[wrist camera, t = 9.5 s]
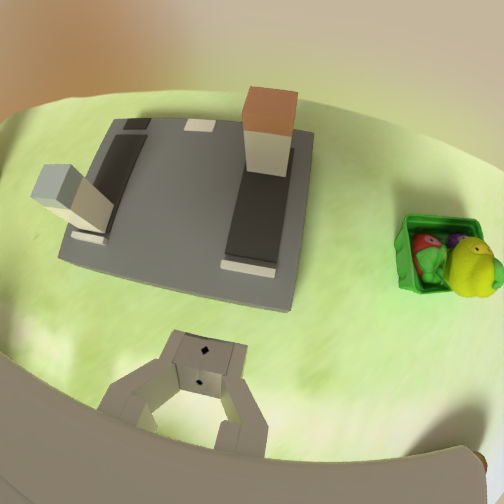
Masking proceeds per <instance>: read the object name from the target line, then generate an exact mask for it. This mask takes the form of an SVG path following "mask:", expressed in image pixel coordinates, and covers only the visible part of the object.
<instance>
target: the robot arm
mask: <svg viewBox="0 0 504 504" xmlns="http://www.w3.org/2000/svg"><path fill="white" fill-rule="evenodd" d="M247 348H248V345H244V344H239V343H235V342H229V341H224V340H218V339H213V338H207V337H202V336H198V335H194V334H191V333H187V332H183V331H179V330H175V329H174V330H173V332H172V333H171V335H170V337H169V339H168V341H167V343H166V345H165V347H164V349H163V351H162V353H161V355H160V357H159V359H154V360H152V361H150V362H149V363H147V364H145V365H143V366H142V367H140V368H138V369H137V370H135V371H133V372H131V373H130V374H128V375H126V376H124V377H123V378H121V379H119V380H117V381H116V382H114V383H112V384H110V386H109V388H108V390H107V392H106V393H105V395H104V397H103V399H102V401H101V403H100V405H99V407H98V408H97V410H96V409H94V408H92V407H90V406H88V405H86V404H84V403H82V402H80V401H78V400H76V399H74V398H72V397H70V396H68V395H67V394H65V393H63V392H61V391H59V390H58V389H56V388H54V387H53V386H51V385H49V384H48V383H46V382H44V381H43V380H41V379H40V378H38V377H36V376H35V375H33V374H32V373H30V372H29V371H27V370H26V369H24V368H23V367H21V366H20V365H19V364H17V363H16V362H14V361H13V360H12V359H10V358H9V357H8V356H6V355H5V354H4V353H2V352H1V351H0V504H487V485H486V474H485V469H484V465H483V463H482V462H481V460H480V459H479V458H478V457H477V456H476V455H475V454H474V453H473V452H472V451H471V450H470V449H469V448H468V447H466V446H464V445H459V446H454V447H451V448H447V449H442V450H438V451H433V452H428V453H423V454H418V455H412V456H405V457H398V458H390V459H381V460H369V461H352V462H310V461H292V460H280V459H270V458H264V456H265V449H266V442H267V435H268V427H269V426H268V425H267V423H266V421H265V419H264V417H263V415H262V413H261V411H260V409H259V407H258V405H257V403H256V402H255V400H254V398H253V396H252V394H251V392H250V390H249V388H248V386H247V384H246V382H245V380H244V379H242V378H243V373H244V367H245V361H246V355H247ZM180 389H181V390H186V391H190V392H194V393H199V394H203V395H207V396H211V397H215V398H219V399H221V402H222V405H223V408H224V410H225V413H226V415H227V418H228V421H227V420H224V421H223V422H221V425H220V428H219V432H218V436H217V439H216V443H215V447H214V449H211V448H206V447H202V446H198V445H194V444H190V443H186V442H183V441H179V440H176V439H172V438H169V437H166V436H163V435H159V434H156V433H155V432H156V430H157V425H156V423H155V420H154V418H153V416H152V414H151V413H152V412H153V411H155V410H156V409H157V408H159V407H160V406H161V405H162V404H164V403H165V402H166V401H167V400H169V399H170V398H171V397H172V396H174V395H175V394H176V393H177V392H179V391H180Z"/></svg>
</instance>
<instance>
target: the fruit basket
mask: <svg viewBox="0 0 504 504" xmlns="http://www.w3.org/2000/svg"><path fill="white" fill-rule="evenodd" d="M394 246H395V249H396V251H397V252H396V262H397V271H398V275H399V277H400V279H399V288H401V289H406V290H411V291H414V292H415V293H418V294H431V293H441V292H451V291H454V292H455V293H457V294H458V295H460V296H463V297H480V298H486V297H489V296H491V295H492V294H494V293H495V291H496V290H497V289H498V288H500V287H501V286H502V285H503V283H504V267H503V265H502V263H501V262H500V261H499V260H498V259H496V258H495V257H494V254H493V252H492V251H491V249H490V247H489V246H488V245H487V244H486V243H485V242H484V238H483V233H482V229H481V226H480V223H479V222H478V221H477V220H476V219H468V218H456V217H445V216H432V215H419V214H408V215H406V216H405V218H404V221H403V224H402V228H401V230H400V233H399V235H398V237H397V239H396V241H395V243H394Z"/></svg>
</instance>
